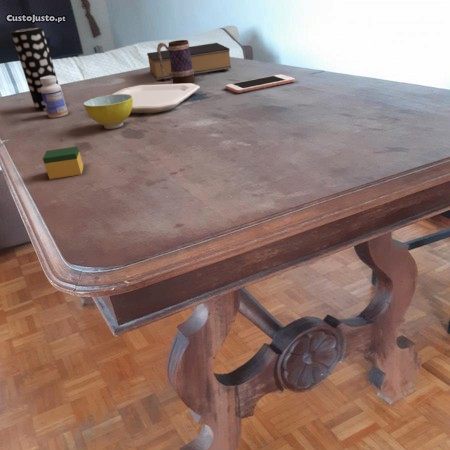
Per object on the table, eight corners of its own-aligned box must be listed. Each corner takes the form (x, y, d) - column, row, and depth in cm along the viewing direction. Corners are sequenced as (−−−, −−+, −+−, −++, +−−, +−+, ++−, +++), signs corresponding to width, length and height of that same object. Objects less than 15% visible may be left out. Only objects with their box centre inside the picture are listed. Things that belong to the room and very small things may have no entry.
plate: (129, 93, 144) (127, 85, 143) (205, 90, 136) (204, 82, 135) (87, 116, 125) (84, 108, 124) (172, 115, 118) (170, 106, 116)
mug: (192, 79, 151) (187, 37, 144) (197, 83, 146) (191, 39, 139) (161, 84, 150) (154, 42, 143) (164, 88, 144) (157, 44, 137)
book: (150, 73, 167) (146, 53, 163) (218, 63, 171) (216, 42, 167) (157, 82, 153) (153, 60, 149) (231, 70, 157) (229, 48, 153)
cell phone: (295, 81, 133) (295, 78, 133) (237, 93, 129) (237, 90, 128) (280, 77, 140) (280, 73, 140) (225, 88, 136) (224, 84, 135)
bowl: (109, 118, 121) (103, 93, 118) (146, 120, 116) (141, 93, 113) (80, 132, 113) (73, 105, 110) (119, 134, 108) (112, 106, 105)
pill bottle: (49, 114, 132) (38, 76, 126) (69, 111, 132) (58, 73, 127) (47, 119, 127) (35, 80, 122) (67, 116, 128) (56, 77, 122)
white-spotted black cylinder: (32, 112, 136) (6, 33, 124) (40, 105, 143) (16, 29, 131) (60, 109, 136) (37, 29, 124) (67, 102, 143) (46, 26, 131)
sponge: (49, 179, 89) (42, 158, 86) (52, 171, 92) (46, 150, 90) (81, 174, 89) (75, 153, 87) (83, 166, 93) (77, 146, 90)
